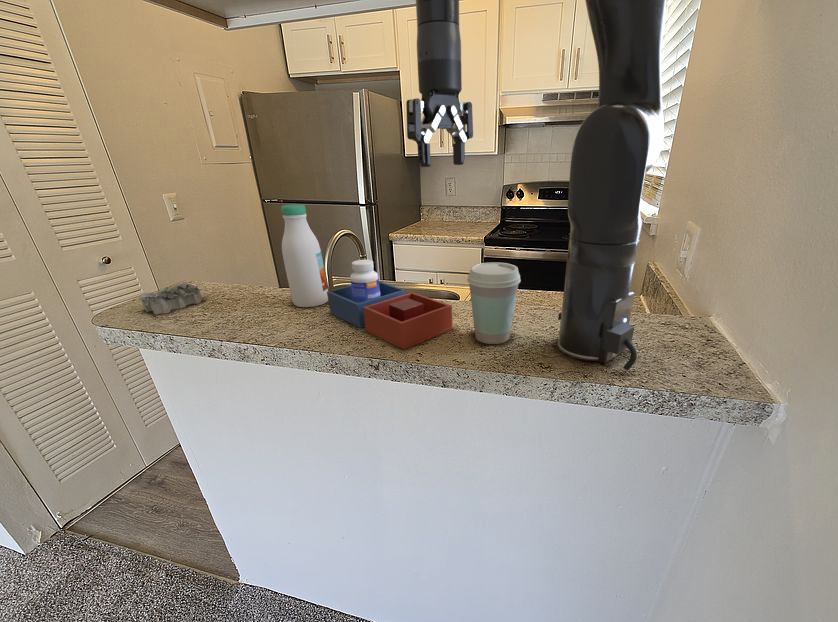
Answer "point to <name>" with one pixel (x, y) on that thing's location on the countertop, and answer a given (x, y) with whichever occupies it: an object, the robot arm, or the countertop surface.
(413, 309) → the red block
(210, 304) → the countertop surface
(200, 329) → the countertop surface
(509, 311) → the coffee cup
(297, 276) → the milk bottle
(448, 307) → the red bin
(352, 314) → the blue bin
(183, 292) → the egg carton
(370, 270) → the pill bottle
